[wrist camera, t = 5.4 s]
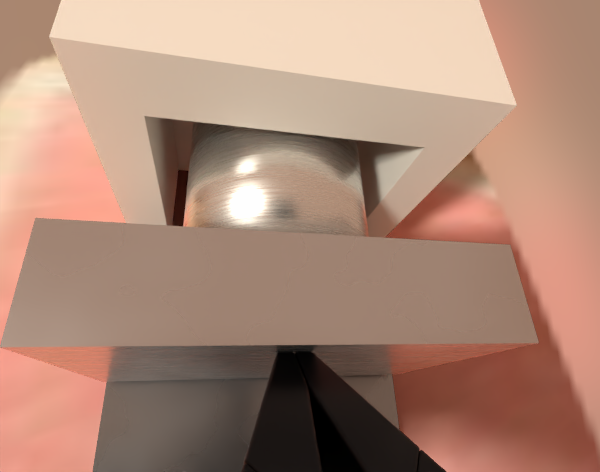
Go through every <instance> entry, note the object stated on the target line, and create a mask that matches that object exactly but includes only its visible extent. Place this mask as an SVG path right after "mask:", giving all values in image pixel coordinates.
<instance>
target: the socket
mask: <svg viewBox="0 0 600 472" xmlns="http://www.w3.org/2000/svg"><path fill="white" fill-rule="evenodd" d="M49 38H50V40H51V43H52V45H53V47H54V50H55V52H56V55H57V57H58V59H59V62H60V64H61V67H62V69H63V71H64V74H65V76H66V79H67V81H68V84H69V86H70V88H71V91H72V93H73V96H74V98H75V100H76V103H77V105H78V108H79V110H80V113H81V115H82V117H83V120H84V122H85V125H86V127H87V129H88V132H89V134H90V137H91V139H92V141H93V144H94V146H95V149H96V151H97V154H98V156H99V158H100V161H101V163H102V166H103V168H104V170H105V173H106V175H107V178H108V180H109V182H110V185H111V187H112V190H113V192H114V195H115V197H116V199H117V202H118V204H119V207H120V209H121V211H122V214H123V216H124V219H125V221H126V223H133V224H151V225H168V226H172V224H173V215H174V206H175V197H176V187H177V178H178V170H185V171H189V161H190V151H191V140H192V129H193V124H194V122H202V123H211V124H220V125H229V126H238V127H247V128H256V129H265V130H273V131H282V132H291V133H300V134H309V135H318V136H327V137H336V138H344V139H353V140H357V148H358V156H359V164H360V172H361V179H362V187H363V195H364V203H365V211H366V219H367V226H368V234H369V237H382V238H385V237H386V236H387V235H388V234H389V233H390V232H391V231H392V230H393V229H394V228H395V227H396V226H397V225H398V224H399V223H400V222H401V221H402V220H403V219H404V218H405V217H406V216H407V215H408V214H409V213H410V212H411V211H412V210H413V209H414V208H415V207H416V206H417V205H418V204H419V203H420V202H421V201H422V200H423V199H424V198H425V197H426V196H427V195H428V194H429V193H430V192H431V191H432V190H433V189H434V188H435V187H436V186H437V185H438V184H439V183H440V182H441V181H442V180H443V179H444V178H445V177H446V176H447V175H448V174H449V173H450V172H451V171H452V170H453V169H454V168H455V167H456V166H457V165H458V164H459V163H460V162H461V161H462V160H463V159H464V158H465V157H466V156H467V155H468V154H469V153H470V152H471V151H472V150H473V149H474V148H475V147H476V146H477V145H478V144H479V143H480V142H481V141H482V140H483V139H484V138H485V137H486V136H487V135H488V134H489V133H490V132H491V131H492V130H493V129H494V128H495V127H496V126H497V125H498V124H499V123H500V122H501V121H502V120H503V119H504V118H505V117H506V116H507V114H509V113H510V112H511V111H512V110H513V109H514V108H515V107H516V102H515V99H514V97H513V94H512V91H511V89H510V86H509V83H508V80H507V77H506V74H505V72H504V69H503V66H502V63H501V61H500V58H499V55H498V52H497V49H496V47H495V44H494V41H493V38H492V36H491V33H490V30H489V28H488V25H487V22H486V19H485V16H484V14H483V11H482V8H481V5H480V2H479V0H61V3H60V6H59V9H58V12H57V15H56V18H55V21H54V24H53V27H52V30H51V33H50V36H49Z"/></svg>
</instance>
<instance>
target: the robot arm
mask: <svg viewBox="0 0 600 472" xmlns="http://www.w3.org/2000/svg"><path fill="white" fill-rule="evenodd" d="M241 472H446V471H445V470H444V469H443V468H442V467H440V466H439V465H438V464H437V463H436V462H435V461H434V460H433V459H431V458H430V457H429V456H428V455H427V454H426V453H425V452H424V451H422V450H420V451H419V447H418V446H417V445H416V444H415V443H413V442H412V441H411V440H410V439H409V438H408V437H407V436H406V435H404V434H403V433H402V432H401V431H400V430H399V429H398V428H397V427H396V426H394V425H393V424H392V423H391V422H390V421H389V420H388V419H387V418H386V417H384V416H383V415H382V414H381V413H380V412H379V411H378V410H377V409H376V408H374V407H373V406H372V405H371V404H370V403H369V402H368V401H367V400H366V399H364V398H363V397H362V396H361V395H360V394H359V393H358V392H357V391H355V390H354V389H353V388H352V387H351V386H350V385H349V384H348V383H347V382H345V381H344V380H343V379H342V378H341V377H340V376H339V375H338V374H337V373H335V372H334V371H333V370H332V369H331V368H330V367H329V366H328V365H327V364H325V363H324V362H323V361H322V360H321V359H320V358H319V357H318V356H316V355H315V354H314V353H313V352H296V353H295V354H294V353H293V352H278V353H276V356H275V359H274V363H273V366H272V369H271V373H270V376H269V379H268V383H267V386H266V389H265V393H264V396H263V399H262V403H261V406H260V409H259V413H258V416H257V420H256V423H255V426H254V430H253V433H252V436H251V440H250V443H249V446H248V450H247V453H246V456H245V460H244V464H243V466H242V469H241Z"/></svg>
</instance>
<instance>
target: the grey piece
mask: <svg viewBox="0 0 600 472" xmlns="http://www.w3.org/2000/svg"><path fill="white" fill-rule="evenodd" d="M538 343H539V341H538V338H537V334H536V331H535V327H534V324H533V321H532V317H531V314H530V310H529V307H528V304H527V300H526V297H525V293H524V290H523V287H522V283H521V280H520V276H519V273H518V270H517V266H516V263H515V259H514V256H513V253H512V249H511V246H510V245H507V244H489V243H471V242H453V241H436V240H418V239H400V238H382V237H369V234H368V226H367V219H366V211H365V203H364V195H363V187H362V179H361V172H360V164H359V156H358V148H357V140H353V139H344V138H336V137H327V136H318V135H309V134H300V133H291V132H282V131H273V130H265V129H256V128H247V127H238V126H229V125H220V124H211V123H202V122H194V124H193V129H192V140H191V151H190V161H189V172H188V182H187V193H186V203H185V214H184V224H183V226H168V225H151V224H133V223H115V222H97V221H79V220H62V219H44V218H35V221H34V225H33V229H32V232H31V236H30V240H29V243H28V247H27V250H26V254H25V258H24V261H23V265H22V269H21V272H20V276H19V279H18V283H17V287H16V290H15V294H14V297H13V301H12V305H11V308H10V312H9V316H8V319H7V323H6V326H5V330H4V334H3V337H2V341H1V345H0V347H1V348H3V349H6V350H9V351H12V352H15V353H18V354H21V355H24V356H27V357H30V358H33V359H36V360H39V361H42V362H45V363H48V364H51V365H54V366H57V367H60V368H63V369H66V370H69V371H72V372H75V373H78V374H81V375H84V376H87V377H90V378H93V379H96V380H99V381H102V382H118V381H157V380H196V379H235V378H269V376H270V373H271V369H272V366H273V363H274V359H275V356H276V353H278V352H293V353H294V354H295V353H296V352H313V353H314V354H315V355H316V356H318V357H319V358H320V359H321V360H322V361H323V362H324V363H325V364H327V365H328V366H329V367H330V368H331V369H332V370H333V371H334V372H335V373H337V374H338V375H339V376H352V375H391V374H401V373H406V372H410V371H415V370H419V369H424V368H429V367H433V366H438V365H442V364H447V363H451V362H456V361H460V360H465V359H469V358H474V357H479V356H483V355H488V354H492V353H497V352H501V351H506V350H510V349H515V348H519V347H524V346H529V345H533V344H538Z"/></svg>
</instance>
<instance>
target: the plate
mask: <svg viewBox="0 0 600 472" xmlns="http://www.w3.org/2000/svg"><path fill="white" fill-rule="evenodd" d="M340 377H341V378H342V379H343V380H344V381H345V382H347V383H348V384H349V385H350V386H351V387H352V388H353V389H354V390H355V391H357V392H358V393H359V394H360V395H361V396H362V397H363V398H364V399H366V400H367V401H368V402H369V403H370V404H371V405H372V406H373V407H374V408H376V409H377V410H378V411H379V412H380V413H381V414H382V415H383V416H384V417H386V418H387V419H388V420H389V421H390V422H391V423H392V424H393V425H394V426H396V427H397V428H398V429H399V423H398V415H397V408H396V400H395V393H394V385H393V378H392V374H391V375H352V376H340ZM268 379H269V378H235V379H196V380H157V381H118V382H107V384H106V390H105V396H104V403H103V409H102V416H101V422H100V428H99V435H98V441H97V447H96V454H95V460H94V466H93V472H241V469H242V466H243V464H244V460H245V456H246V453H247V450H248V446H249V443H250V440H251V436H252V433H253V430H254V426H255V423H256V420H257V416H258V413H259V409H260V406H261V403H262V399H263V396H264V393H265V389H266V386H267V383H268Z"/></svg>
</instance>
